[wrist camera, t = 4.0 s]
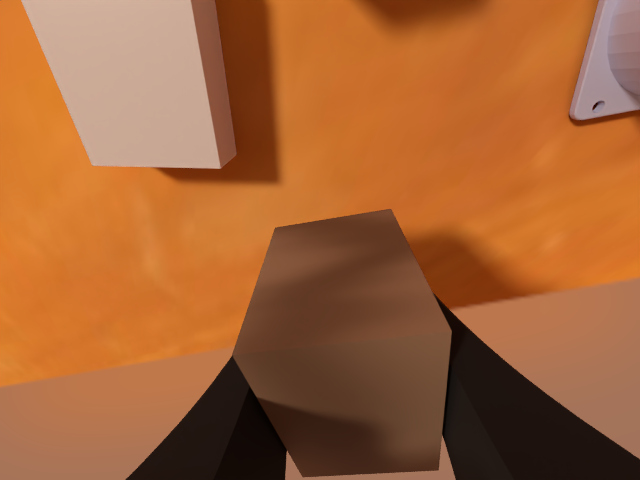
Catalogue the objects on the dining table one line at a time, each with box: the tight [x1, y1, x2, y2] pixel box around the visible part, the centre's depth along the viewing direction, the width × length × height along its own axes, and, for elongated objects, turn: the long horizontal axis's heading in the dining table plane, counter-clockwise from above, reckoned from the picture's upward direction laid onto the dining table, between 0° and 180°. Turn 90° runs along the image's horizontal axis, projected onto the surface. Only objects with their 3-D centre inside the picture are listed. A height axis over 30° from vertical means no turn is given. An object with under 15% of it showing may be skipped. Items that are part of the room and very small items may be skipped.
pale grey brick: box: [21, 0, 237, 169], centre depth 12 cm, size 6×8×3 cm
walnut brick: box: [232, 209, 452, 477], centre depth 8 cm, size 4×6×5 cm, turn 11°
